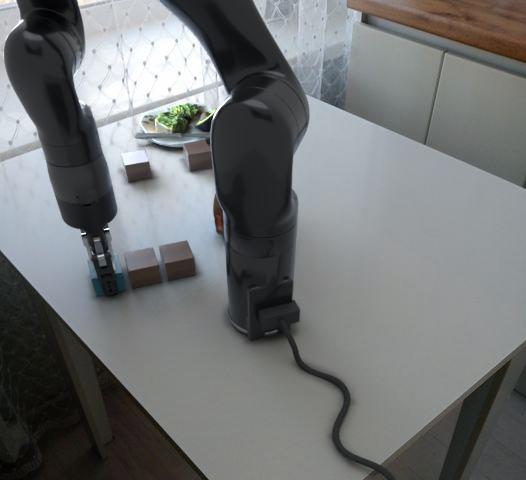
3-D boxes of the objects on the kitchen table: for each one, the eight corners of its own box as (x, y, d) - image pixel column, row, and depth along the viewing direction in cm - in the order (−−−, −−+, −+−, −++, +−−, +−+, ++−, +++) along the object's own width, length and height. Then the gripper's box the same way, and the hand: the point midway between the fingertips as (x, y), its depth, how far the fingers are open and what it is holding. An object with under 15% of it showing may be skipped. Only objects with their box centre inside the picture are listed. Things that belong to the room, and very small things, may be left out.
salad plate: (148, 163, 109) (145, 140, 106) (121, 124, 120) (117, 103, 116) (237, 141, 115) (236, 119, 112) (204, 106, 126) (202, 85, 122)
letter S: (126, 289, 85) (122, 271, 82) (96, 296, 84) (90, 278, 81) (121, 271, 88) (117, 252, 85) (92, 277, 87) (86, 259, 84)
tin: (231, 246, 92) (228, 203, 86) (212, 244, 92) (209, 200, 86) (250, 196, 102) (249, 154, 95) (233, 194, 102) (232, 152, 96)
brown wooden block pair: (196, 274, 87) (194, 257, 85) (132, 288, 85) (128, 271, 82) (189, 257, 90) (187, 239, 87) (127, 270, 88) (123, 252, 85)
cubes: (212, 167, 108) (211, 150, 106) (128, 182, 105) (124, 165, 102) (206, 156, 111) (205, 139, 109) (124, 170, 108) (120, 153, 105)
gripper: (48, 162, 76) (79, 259, 89) (58, 220, 67) (90, 319, 80) (103, 153, 78) (125, 250, 91) (119, 209, 69) (141, 307, 82)
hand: (108, 282), depth 85 cm, fingers closed on letter S, 4 cm apart
